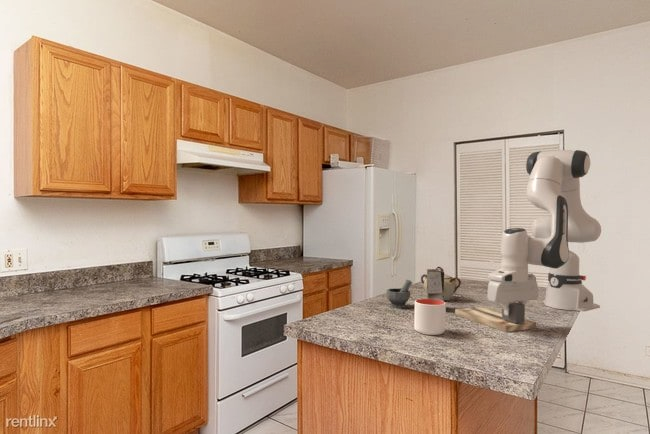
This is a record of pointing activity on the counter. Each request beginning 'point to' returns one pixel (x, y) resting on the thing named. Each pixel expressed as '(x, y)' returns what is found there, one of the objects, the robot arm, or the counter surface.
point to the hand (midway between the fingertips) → (513, 314)
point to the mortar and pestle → (399, 295)
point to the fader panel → (493, 319)
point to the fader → (515, 313)
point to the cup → (430, 316)
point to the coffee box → (435, 284)
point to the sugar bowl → (445, 285)
